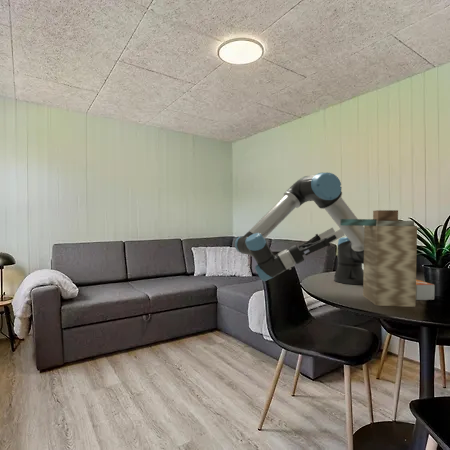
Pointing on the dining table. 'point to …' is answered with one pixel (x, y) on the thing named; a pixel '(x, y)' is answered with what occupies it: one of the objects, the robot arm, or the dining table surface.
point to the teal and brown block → (377, 216)
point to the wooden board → (390, 263)
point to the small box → (424, 290)
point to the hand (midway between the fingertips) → (338, 231)
